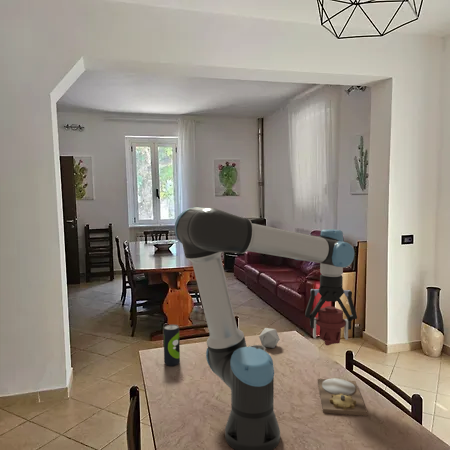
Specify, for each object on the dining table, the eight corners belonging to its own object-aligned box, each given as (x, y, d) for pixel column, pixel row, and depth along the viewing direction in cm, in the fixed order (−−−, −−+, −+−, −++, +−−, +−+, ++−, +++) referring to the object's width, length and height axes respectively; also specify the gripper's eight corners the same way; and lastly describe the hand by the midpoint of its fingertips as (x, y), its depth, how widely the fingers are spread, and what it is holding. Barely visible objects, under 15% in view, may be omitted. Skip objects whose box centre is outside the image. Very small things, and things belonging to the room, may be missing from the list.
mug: (268, 366, 152) (268, 349, 151) (254, 369, 149) (254, 352, 148) (255, 356, 161) (255, 341, 160) (241, 360, 158) (241, 344, 157)
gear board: (367, 416, 117) (367, 405, 116) (323, 412, 119) (323, 402, 118) (355, 384, 136) (355, 375, 136) (317, 381, 138) (317, 372, 138)
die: (258, 344, 176) (254, 332, 170) (272, 332, 179) (268, 320, 173) (269, 355, 170) (266, 343, 164) (284, 343, 173) (281, 331, 167)
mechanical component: (313, 337, 139) (341, 337, 139) (317, 347, 129) (348, 348, 129) (313, 303, 138) (341, 304, 138) (318, 311, 128) (349, 312, 128)
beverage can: (164, 360, 157) (163, 324, 156) (179, 359, 159) (178, 323, 157) (164, 367, 151) (163, 330, 150) (180, 365, 152) (179, 328, 151)
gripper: (362, 273, 135) (361, 335, 136) (297, 271, 137) (296, 332, 139) (368, 277, 127) (366, 343, 129) (298, 275, 130) (297, 340, 131)
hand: (330, 337), depth 134 cm, fingers closed on mechanical component, 10 cm apart
